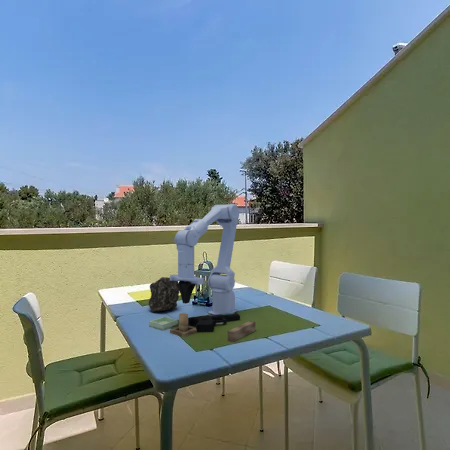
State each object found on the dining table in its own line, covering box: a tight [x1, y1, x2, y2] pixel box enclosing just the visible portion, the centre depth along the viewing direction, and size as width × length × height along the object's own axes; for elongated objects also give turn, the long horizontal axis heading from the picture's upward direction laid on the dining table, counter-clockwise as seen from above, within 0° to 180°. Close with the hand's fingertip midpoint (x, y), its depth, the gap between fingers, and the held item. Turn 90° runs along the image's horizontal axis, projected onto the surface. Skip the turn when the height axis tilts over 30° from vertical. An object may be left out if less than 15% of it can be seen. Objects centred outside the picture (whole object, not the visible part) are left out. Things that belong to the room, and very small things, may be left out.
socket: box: [169, 325, 198, 338], centre depth 104 cm, size 7×7×1 cm
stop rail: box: [227, 320, 256, 343], centre depth 101 cm, size 13×2×3 cm, turn 143°
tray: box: [148, 316, 179, 331], centre depth 111 cm, size 7×7×2 cm
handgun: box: [188, 312, 241, 333], centre depth 112 cm, size 19×3×12 cm
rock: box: [148, 276, 180, 313], centre depth 133 cm, size 14×13×15 cm
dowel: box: [178, 312, 189, 332], centre depth 104 cm, size 3×3×6 cm
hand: (186, 302), depth 111 cm, fingers closed
